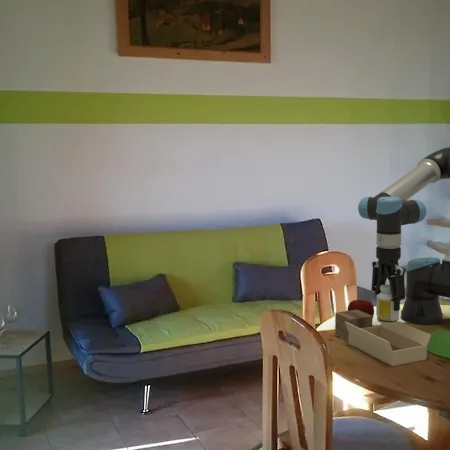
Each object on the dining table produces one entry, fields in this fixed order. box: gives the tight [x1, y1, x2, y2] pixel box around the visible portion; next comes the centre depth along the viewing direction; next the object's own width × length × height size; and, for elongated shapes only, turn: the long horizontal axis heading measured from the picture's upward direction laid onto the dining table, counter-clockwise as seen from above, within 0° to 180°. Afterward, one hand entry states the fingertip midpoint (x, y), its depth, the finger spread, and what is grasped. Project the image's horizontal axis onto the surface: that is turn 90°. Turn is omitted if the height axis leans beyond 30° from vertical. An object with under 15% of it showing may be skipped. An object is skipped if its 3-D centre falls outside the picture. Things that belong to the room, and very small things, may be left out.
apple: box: [346, 299, 375, 317], centre depth 230 cm, size 10×10×10 cm
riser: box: [334, 310, 374, 342], centre depth 219 cm, size 9×9×8 cm
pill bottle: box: [376, 284, 399, 324], centre depth 203 cm, size 6×6×12 cm
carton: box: [345, 320, 432, 367], centre depth 204 cm, size 16×23×8 cm
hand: (387, 317), depth 204 cm, fingers closed on pill bottle, 6 cm apart
